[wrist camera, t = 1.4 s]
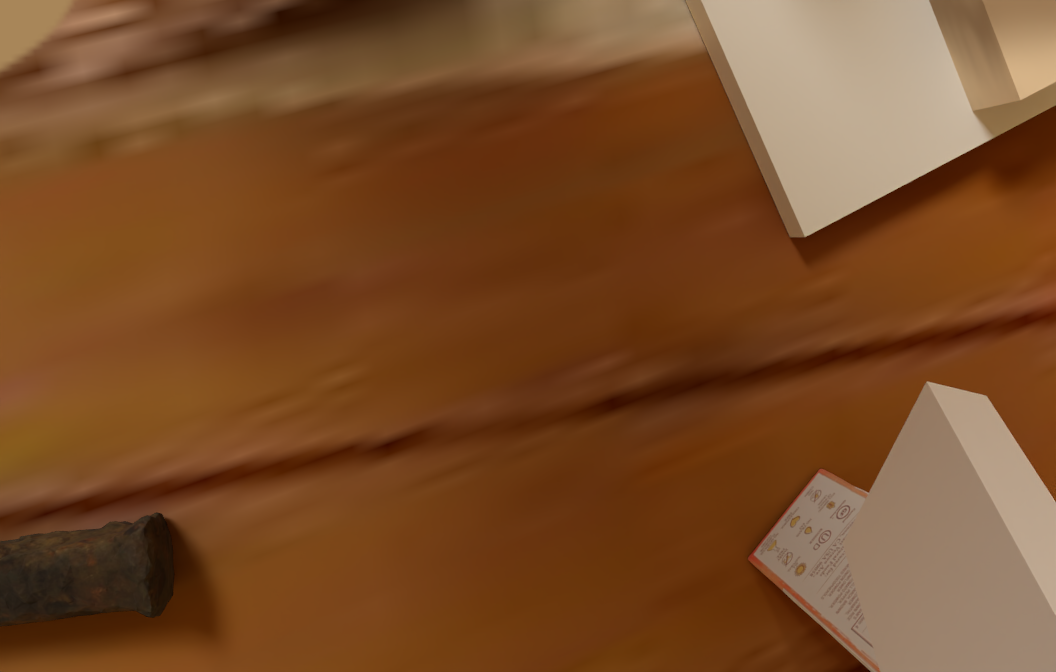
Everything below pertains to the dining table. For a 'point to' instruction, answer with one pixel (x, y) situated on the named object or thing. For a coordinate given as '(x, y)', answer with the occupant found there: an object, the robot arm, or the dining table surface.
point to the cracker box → (820, 560)
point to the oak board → (999, 47)
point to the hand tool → (87, 572)
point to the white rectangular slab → (845, 98)
